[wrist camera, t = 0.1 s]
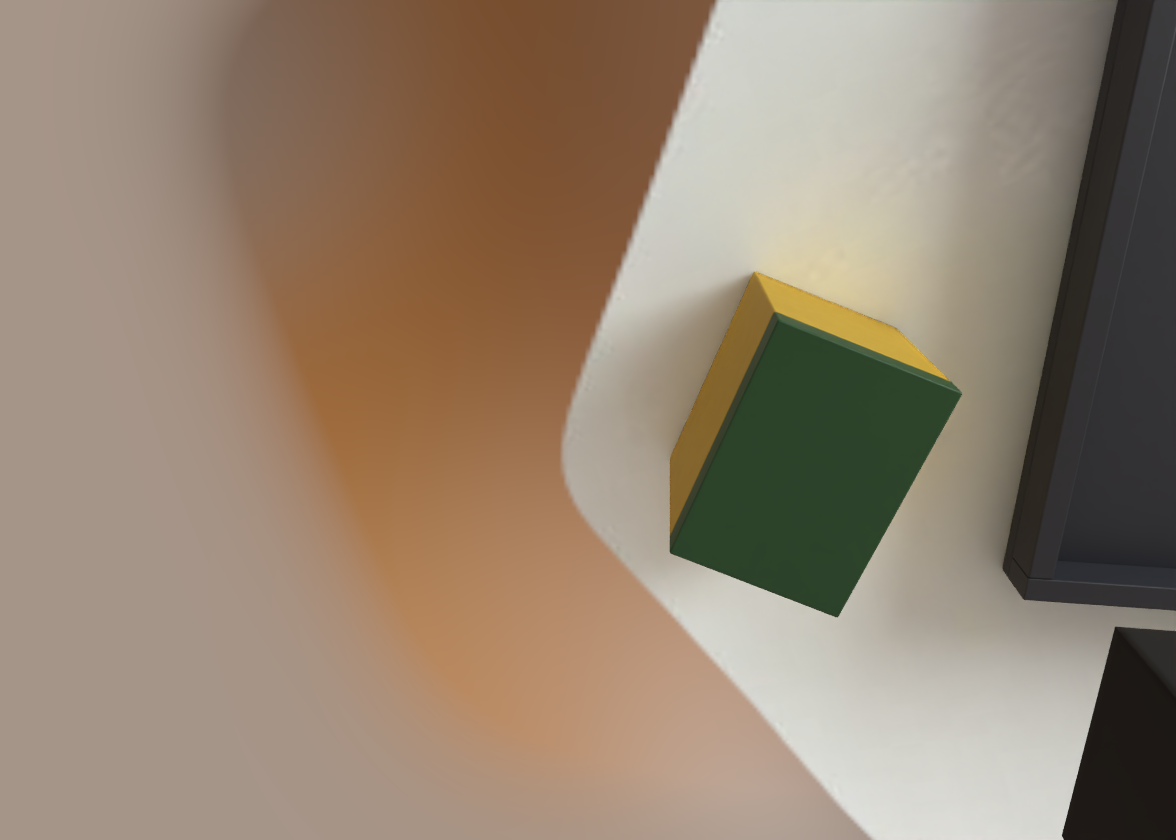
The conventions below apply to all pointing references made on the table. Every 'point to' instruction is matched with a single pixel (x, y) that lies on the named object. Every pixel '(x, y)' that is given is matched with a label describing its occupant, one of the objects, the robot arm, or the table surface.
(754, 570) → the sponge
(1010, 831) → the table surface
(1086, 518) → the tray
